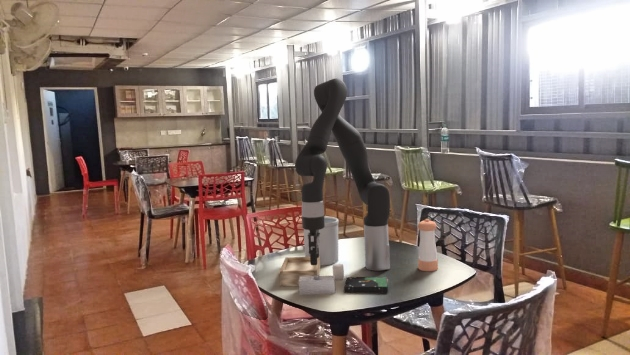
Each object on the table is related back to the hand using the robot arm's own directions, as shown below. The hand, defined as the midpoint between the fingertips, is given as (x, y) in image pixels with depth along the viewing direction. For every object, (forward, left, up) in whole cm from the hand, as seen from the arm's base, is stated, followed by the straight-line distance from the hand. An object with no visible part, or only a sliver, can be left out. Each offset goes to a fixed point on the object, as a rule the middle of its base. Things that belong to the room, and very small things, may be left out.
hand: (314, 261), depth 163 cm
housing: (0, 0, -11) cm, 11 cm away
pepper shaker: (-41, -22, -11) cm, 48 cm away
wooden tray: (+7, -15, -11) cm, 19 cm away
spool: (-7, -13, -11) cm, 18 cm away
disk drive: (-17, -3, -11) cm, 21 cm away
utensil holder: (0, -36, -11) cm, 37 cm away
